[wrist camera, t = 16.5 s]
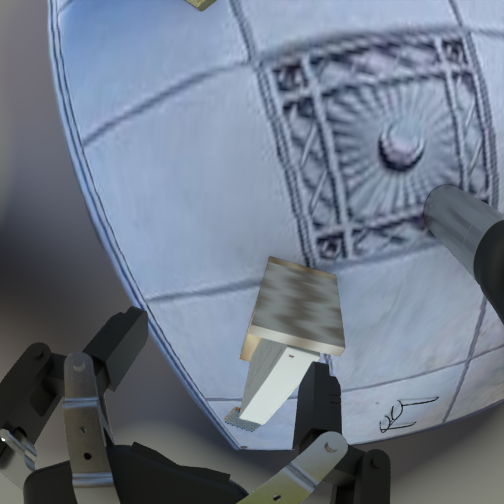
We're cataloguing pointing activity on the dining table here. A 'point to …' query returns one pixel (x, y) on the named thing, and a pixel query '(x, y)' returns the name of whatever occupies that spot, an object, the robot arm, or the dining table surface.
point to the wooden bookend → (297, 310)
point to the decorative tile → (201, 3)
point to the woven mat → (240, 421)
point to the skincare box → (273, 378)
